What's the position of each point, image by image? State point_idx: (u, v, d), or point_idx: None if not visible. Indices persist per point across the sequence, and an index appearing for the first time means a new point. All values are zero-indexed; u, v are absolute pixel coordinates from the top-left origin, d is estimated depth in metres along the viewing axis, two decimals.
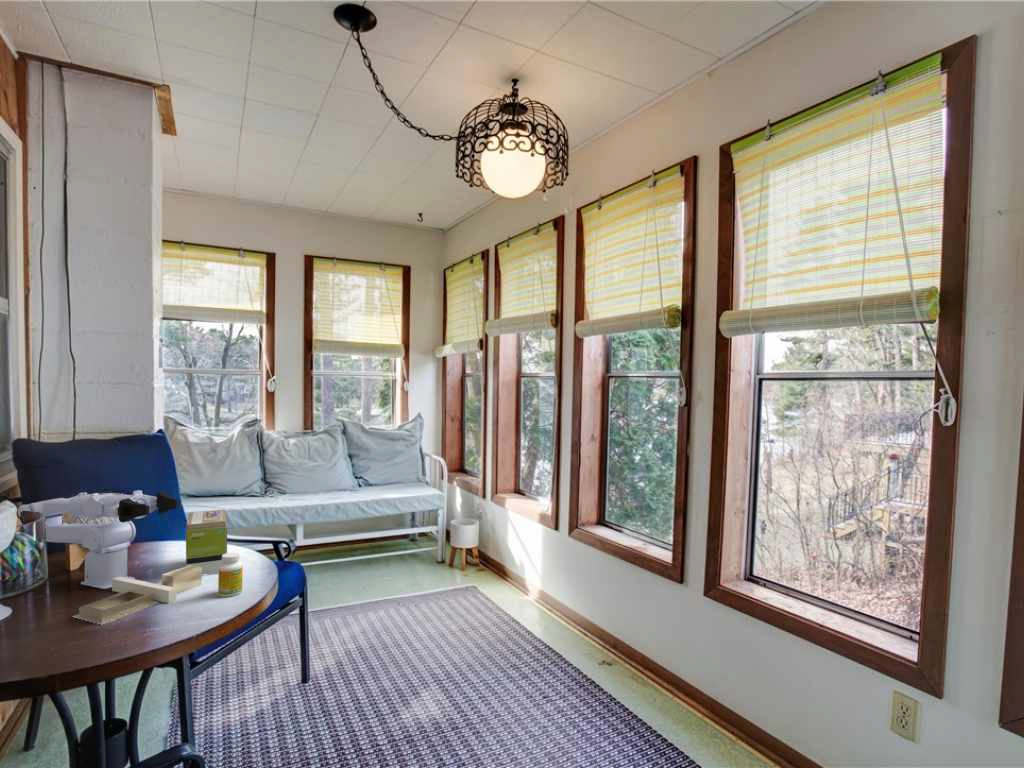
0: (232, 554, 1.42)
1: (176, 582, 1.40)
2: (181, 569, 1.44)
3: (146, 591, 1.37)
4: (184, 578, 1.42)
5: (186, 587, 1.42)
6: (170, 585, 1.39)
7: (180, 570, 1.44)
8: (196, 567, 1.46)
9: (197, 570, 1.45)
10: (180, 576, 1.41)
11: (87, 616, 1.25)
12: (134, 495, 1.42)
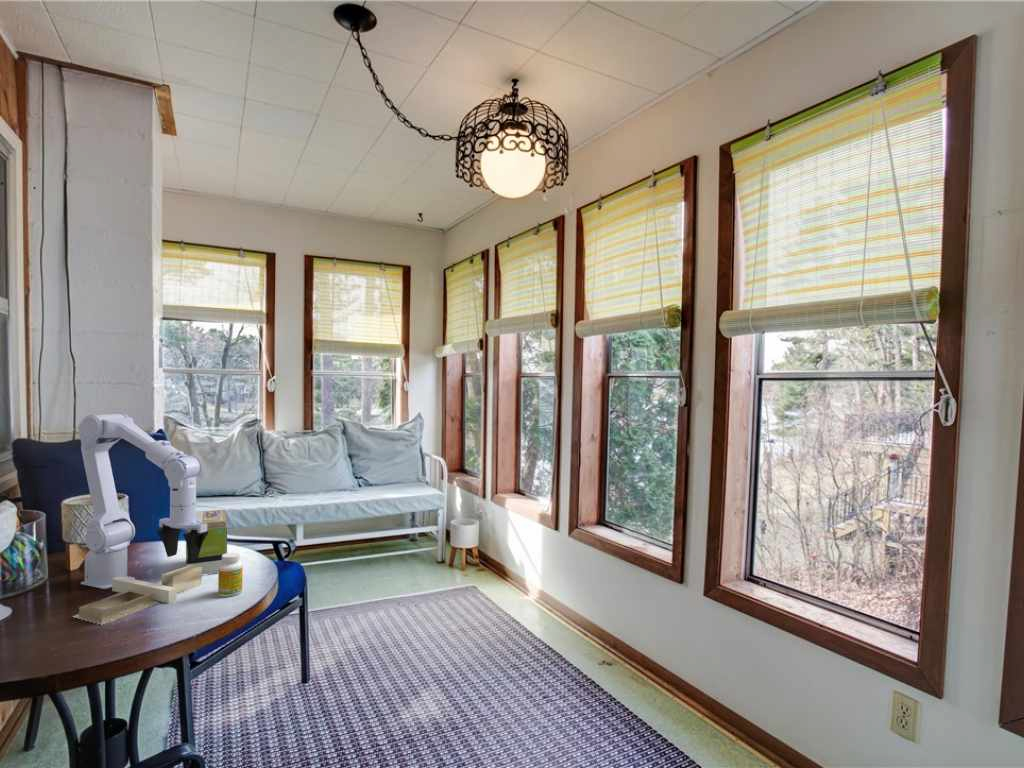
0: (232, 554, 1.42)
1: (176, 582, 1.40)
2: (181, 569, 1.44)
3: (146, 591, 1.37)
4: (184, 578, 1.42)
5: (186, 587, 1.42)
6: (170, 585, 1.39)
7: (181, 570, 1.44)
8: (196, 567, 1.46)
9: (197, 570, 1.45)
10: (180, 576, 1.41)
11: (87, 616, 1.25)
12: None
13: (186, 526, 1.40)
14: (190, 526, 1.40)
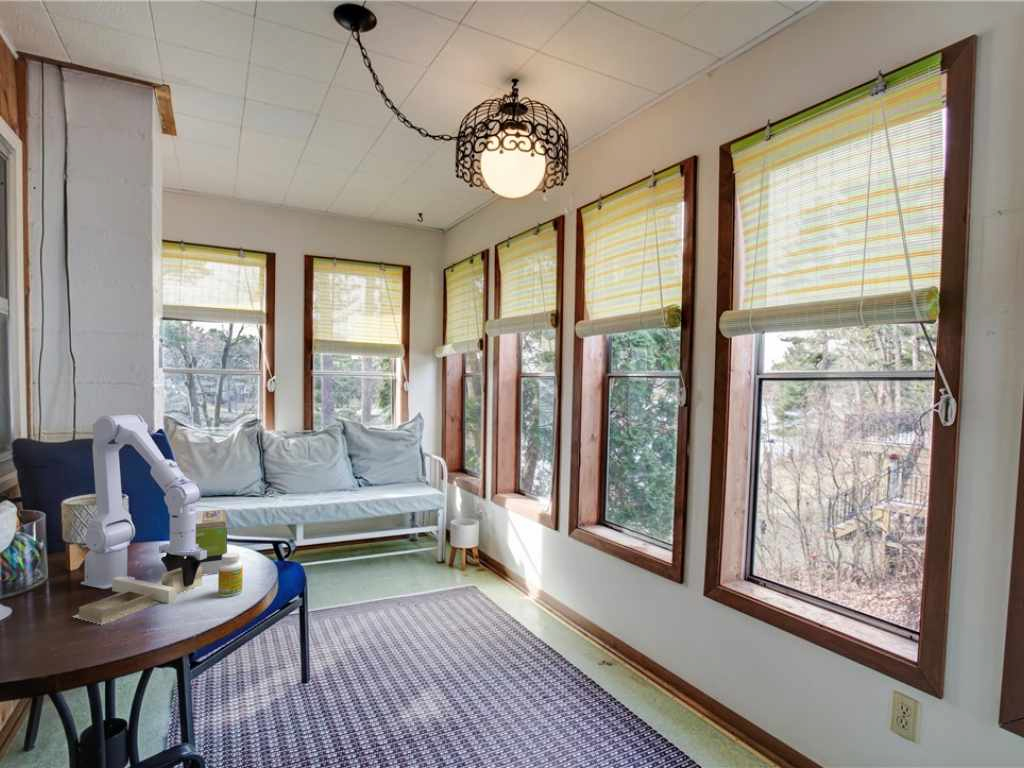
0: (232, 554, 1.42)
1: (177, 581, 1.40)
2: None
3: (146, 591, 1.37)
4: None
5: None
6: (170, 584, 1.39)
7: (181, 569, 1.44)
8: None
9: (197, 570, 1.45)
10: (180, 575, 1.41)
11: (87, 616, 1.25)
12: None
13: (186, 553, 1.40)
14: (190, 553, 1.40)
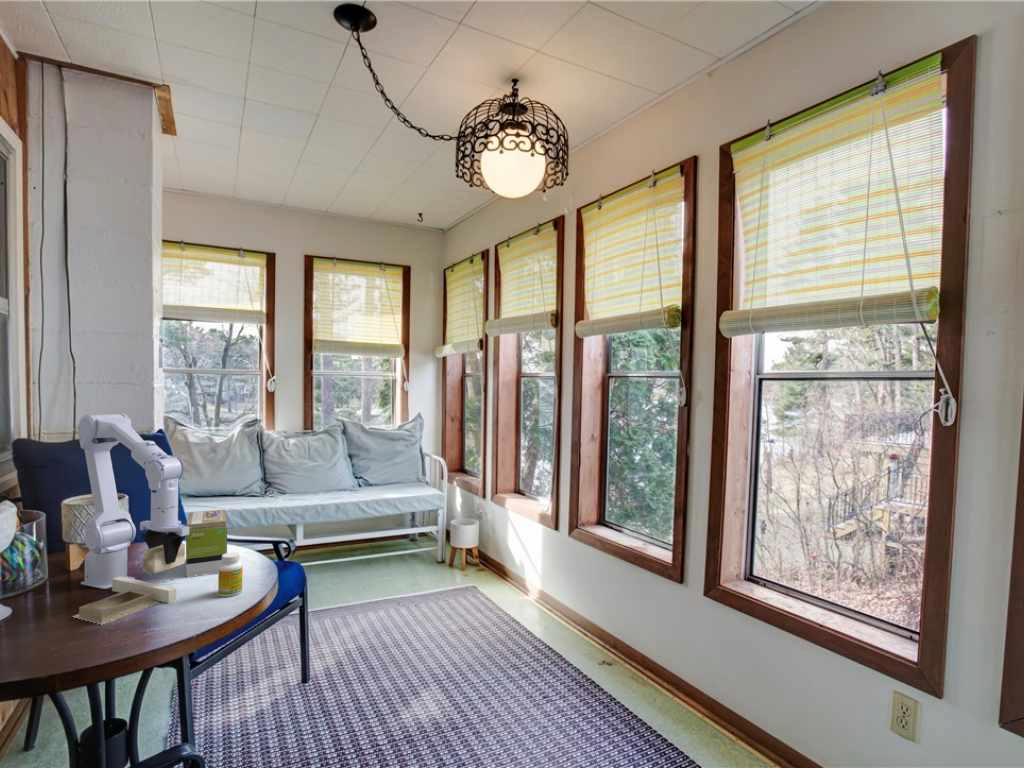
0: (232, 554, 1.42)
1: (158, 558, 1.36)
2: None
3: (146, 591, 1.37)
4: None
5: None
6: (151, 561, 1.35)
7: None
8: None
9: (180, 547, 1.41)
10: (161, 552, 1.37)
11: (87, 616, 1.25)
12: None
13: (167, 529, 1.36)
14: (171, 529, 1.36)
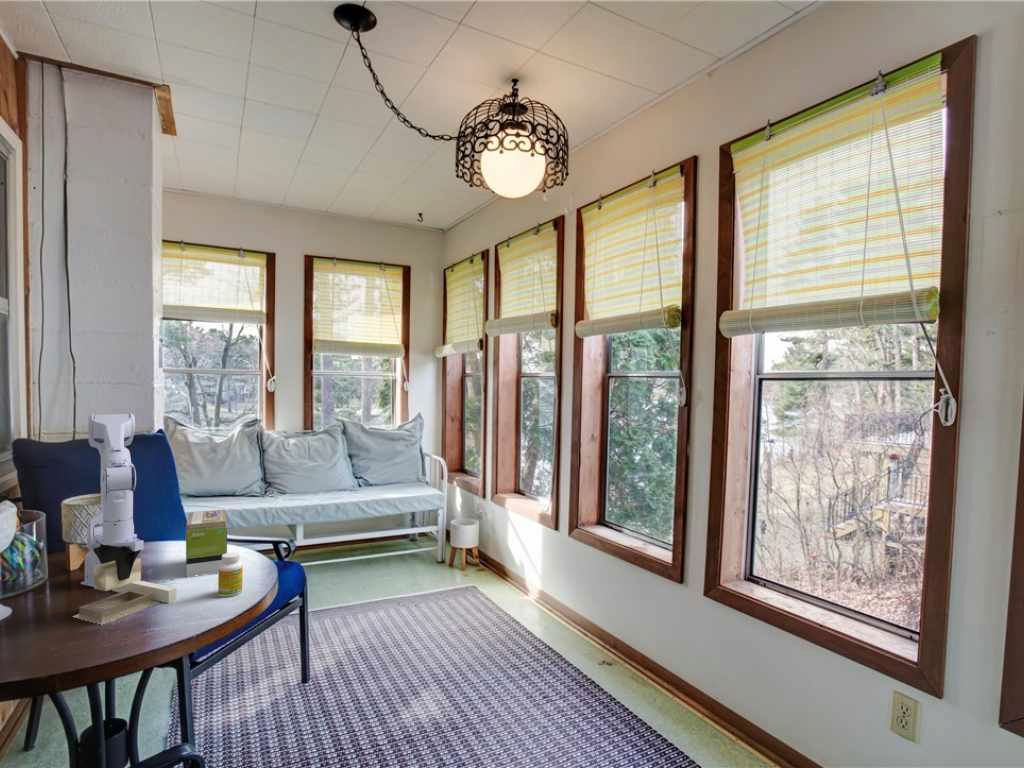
0: (232, 554, 1.42)
1: (110, 575, 1.27)
2: None
3: (146, 591, 1.37)
4: None
5: (122, 580, 1.29)
6: (102, 578, 1.26)
7: None
8: None
9: (135, 562, 1.32)
10: (114, 568, 1.27)
11: (87, 616, 1.25)
12: None
13: (120, 543, 1.27)
14: (124, 543, 1.27)
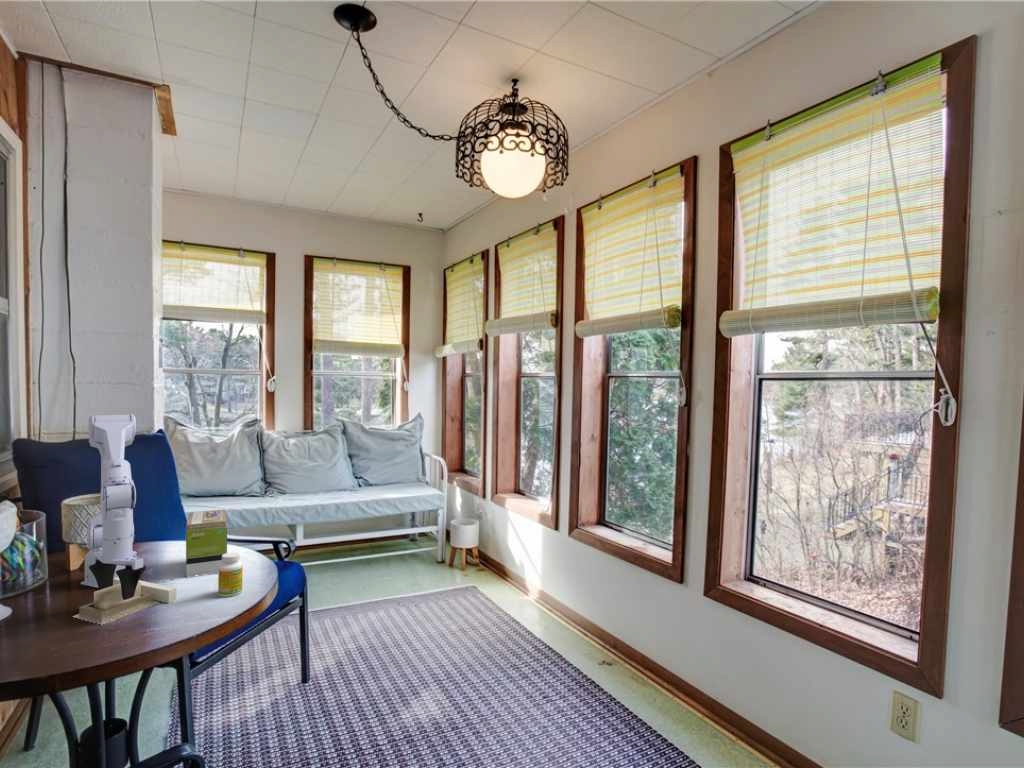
0: (232, 554, 1.42)
1: (110, 600, 1.27)
2: (117, 585, 1.31)
3: (146, 591, 1.37)
4: (119, 596, 1.29)
5: None
6: (102, 604, 1.26)
7: (116, 586, 1.31)
8: None
9: None
10: (114, 593, 1.27)
11: (87, 616, 1.25)
12: None
13: (119, 562, 1.27)
14: (124, 562, 1.27)
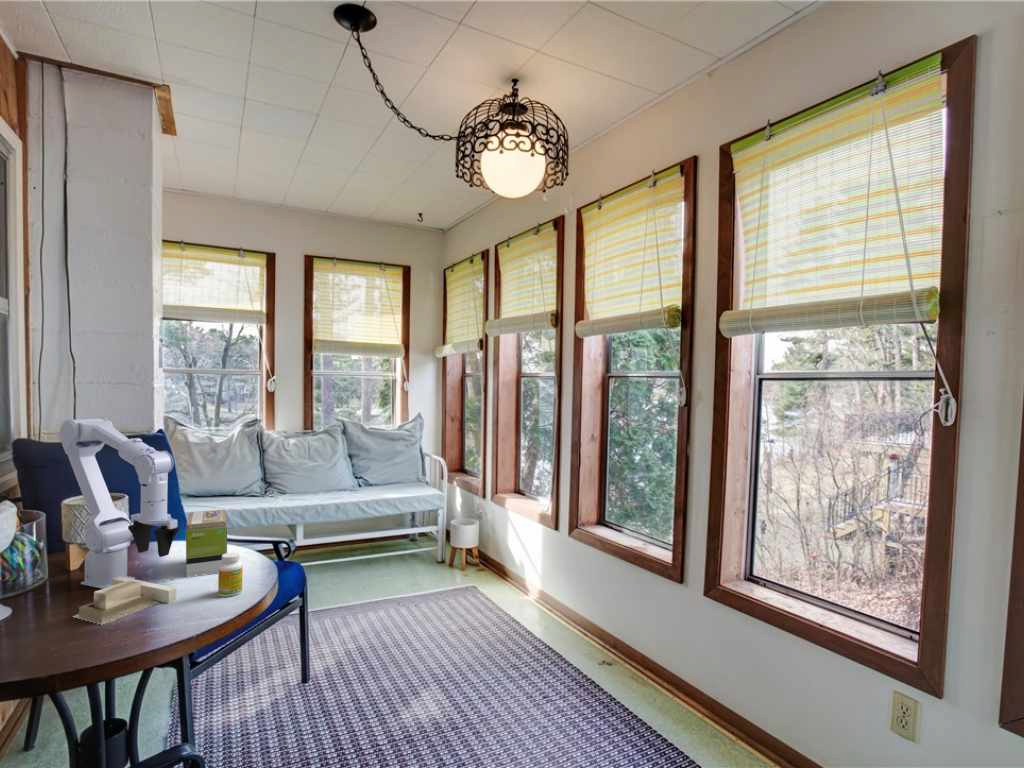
0: (232, 554, 1.42)
1: (110, 600, 1.27)
2: (117, 585, 1.31)
3: (146, 591, 1.37)
4: (119, 596, 1.29)
5: None
6: (102, 604, 1.26)
7: (116, 586, 1.31)
8: (134, 583, 1.33)
9: (135, 587, 1.32)
10: (114, 593, 1.27)
11: (87, 616, 1.25)
12: None
13: (156, 522, 1.39)
14: (160, 522, 1.39)
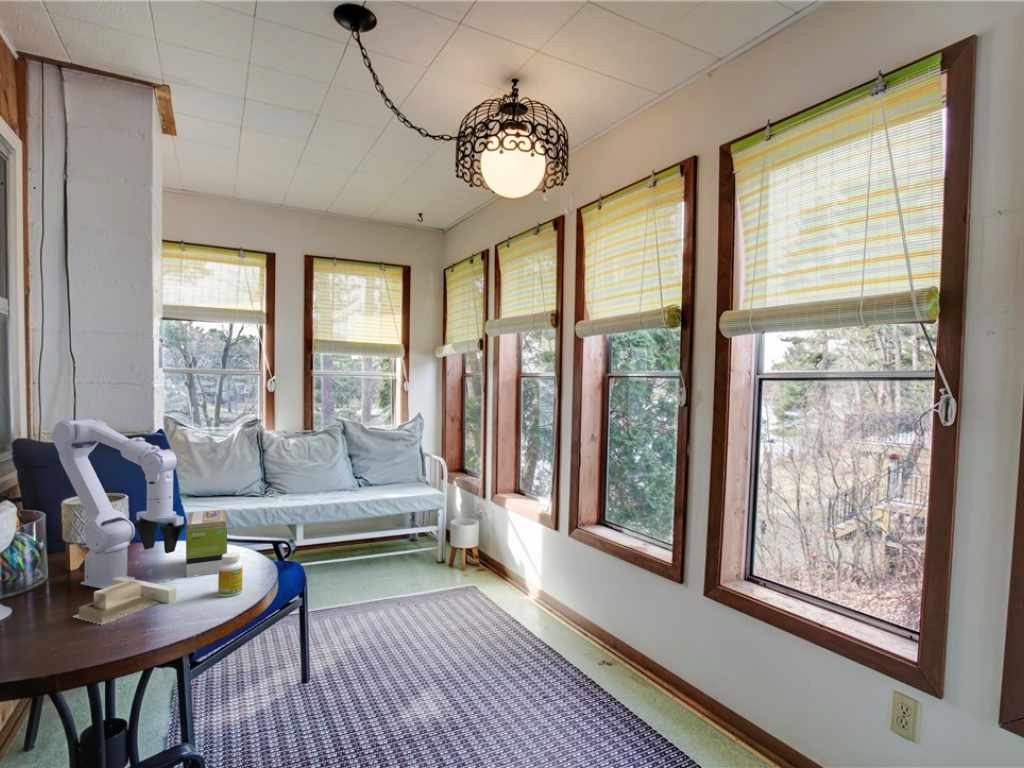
0: (232, 554, 1.42)
1: (110, 600, 1.27)
2: (117, 585, 1.31)
3: (146, 591, 1.37)
4: (119, 596, 1.29)
5: None
6: (102, 604, 1.26)
7: (116, 586, 1.31)
8: (134, 583, 1.33)
9: (135, 587, 1.32)
10: (114, 593, 1.27)
11: (87, 616, 1.25)
12: None
13: (162, 519, 1.42)
14: (166, 519, 1.42)
